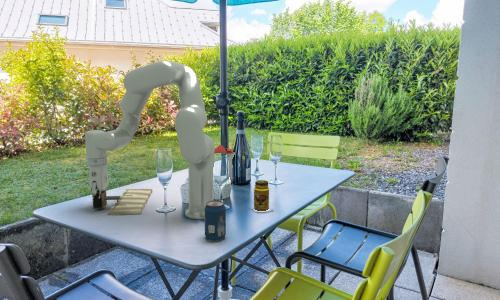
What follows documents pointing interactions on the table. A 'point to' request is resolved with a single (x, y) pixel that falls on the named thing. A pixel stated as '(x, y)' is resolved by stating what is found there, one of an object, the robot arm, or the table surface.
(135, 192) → the wooden slatted rack
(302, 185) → the table surface
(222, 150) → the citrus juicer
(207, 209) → the soda can
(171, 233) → the table surface
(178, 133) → the robot arm
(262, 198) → the condiment
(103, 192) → the marking gauge
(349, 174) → the table surface
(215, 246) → the table surface
